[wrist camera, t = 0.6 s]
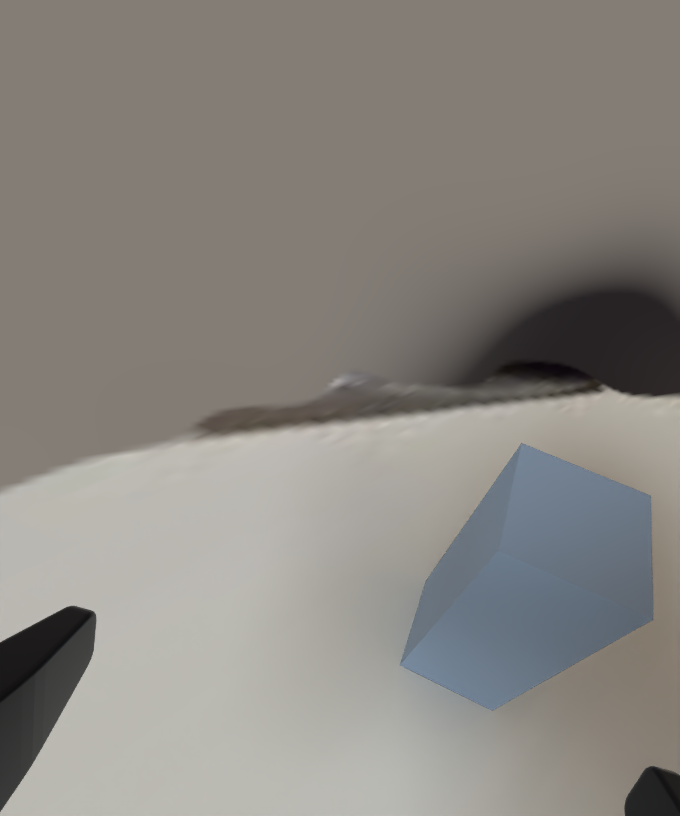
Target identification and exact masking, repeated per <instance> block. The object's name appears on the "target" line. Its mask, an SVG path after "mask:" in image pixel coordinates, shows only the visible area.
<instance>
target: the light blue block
mask: <svg viewBox="0 0 680 816" xmlns="http://www.w3.org/2000/svg"><path fill="white" fill-rule="evenodd" d="M652 620H653V582H652V534H651V496H650V495H647V494H645V493H643V492H640V491H638V490H635V489H633V488H630V487H628V486H625V485H623V484H621V483H618V482H616V481H613V480H611V479H608V478H606V477H603V476H601V475H598V474H596V473H594V472H591V471H589V470H586V469H584V468H581V467H579V466H576V465H574V464H572V463H569V462H567V461H564V460H562V459H559V458H557V457H554V456H552V455H549V454H547V453H545V452H542V451H540V450H537V449H535V448H532V447H530V446H527V445H525V444H523V443H521V445H520V446H519V448H518V449H517V451H516V452H515V453H514V455H513V456H512V458H511V459H510V461H509V462H508V464H507V465H506V466H505V468H504V469H503V471H502V472H501V474H500V475H499V476H498V478H497V479H496V481H495V482H494V484H493V485H492V487H491V488H490V489H489V491H488V492H487V494H486V495H485V497H484V498H483V500H482V501H481V502H480V504H479V505H478V507H477V508H476V510H475V511H474V513H473V514H472V515H471V517H470V518H469V520H468V521H467V523H466V524H465V525H464V527H463V528H462V530H461V531H460V533H459V534H458V536H457V537H456V538H455V540H454V541H453V543H452V544H451V546H450V547H449V549H448V550H447V551H446V553H445V554H444V556H443V557H442V559H441V560H440V561H439V563H438V564H437V566H436V567H435V569H434V570H433V572H432V573H431V574H430V576H429V577H428V579H427V580H426V583H425V586H424V589H423V593H422V596H421V599H420V602H419V605H418V609H417V612H416V615H415V618H414V622H413V625H412V628H411V631H410V634H409V638H408V641H407V644H406V647H405V650H404V654H403V657H402V660H401V663H400V665H401V666H403V667H405V668H407V669H409V670H411V671H413V672H415V673H417V674H419V675H421V676H423V677H425V678H427V679H429V680H431V681H433V682H435V683H437V684H439V685H441V686H443V687H445V688H447V689H449V690H452V691H454V692H456V693H458V694H460V695H462V696H464V697H466V698H468V699H470V700H472V701H474V702H476V703H478V704H480V705H482V706H484V707H486V708H488V709H490V710H494V709H496V708H498V707H499V706H501V705H503V704H505V703H506V702H508V701H510V700H512V699H514V698H515V697H517V696H519V695H521V694H522V693H524V692H526V691H528V690H529V689H531V688H533V687H535V686H537V685H538V684H540V683H542V682H544V681H545V680H547V679H549V678H551V677H552V676H554V675H556V674H558V673H560V672H561V671H563V670H565V669H567V668H568V667H570V666H572V665H574V664H575V663H577V662H579V661H581V660H583V659H584V658H586V657H588V656H590V655H591V654H593V653H595V652H597V651H598V650H600V649H602V648H604V647H606V646H607V645H609V644H611V643H613V642H614V641H616V640H618V639H620V638H621V637H623V636H625V635H627V634H629V633H630V632H632V631H634V630H636V629H637V628H639V627H641V626H643V625H645V624H646V623H648V622H650V621H652Z"/></svg>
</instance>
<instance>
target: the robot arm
mask: <svg viewBox="0 0 680 816" xmlns="http://www.w3.org/2000/svg"><path fill="white" fill-rule="evenodd" d="M95 629H96V614H95V612H93V611H91V610H88V609H84V608H81V607H77V606H69V607H66V608H64V609H62V610H60V611H58V612H56V613H54V614H53V615H51V616H49V617H47V618H45V619H43V620H41V621H39V622H38V623H36V624H34V625H32V626H30V627H28V628H26V629H24V630H22V631H21V632H19V633H17V634H15V635H13V636H11V637H9V638H7V639H6V640H4V641H2V642H0V812H1V810H2V809H3V807H4V806H5V804H6V803H7V801H8V800H9V798H10V797H11V796H12V794H13V793H14V791H15V790H16V788H17V787H18V785H19V784H20V782H21V781H22V779H23V778H24V776H25V775H26V773H27V772H28V770H29V769H30V767H31V766H32V764H33V762H34V761H35V759H36V757H37V755H38V754H39V752H40V750H41V749H42V747H43V745H44V743H45V741H46V740H47V738H48V736H49V734H50V733H51V731H52V729H53V727H54V725H55V724H56V722H57V720H58V718H59V716H60V715H61V713H62V711H63V709H64V708H65V706H66V704H67V702H68V700H69V699H70V697H71V695H72V693H73V691H74V690H75V688H76V686H77V684H78V683H79V681H80V679H81V677H82V675H83V674H84V672H85V670H86V668H87V666H88V664H89V662H90V660H91V657H92V655H93V651H94V641H95ZM625 816H680V775H679V774H677V773H675V772H673V771H669V770H666V769H662V768H658V767H655V766H650V767H648V768H646V769H645V770H644V771H643V773H642V774H641V776H640V778H639V779H638V781H637V782H636V784H635V785H634V787H633V788H632V790H631V791H630V793H629V794H628V796H627V798H626V801H625Z"/></svg>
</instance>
